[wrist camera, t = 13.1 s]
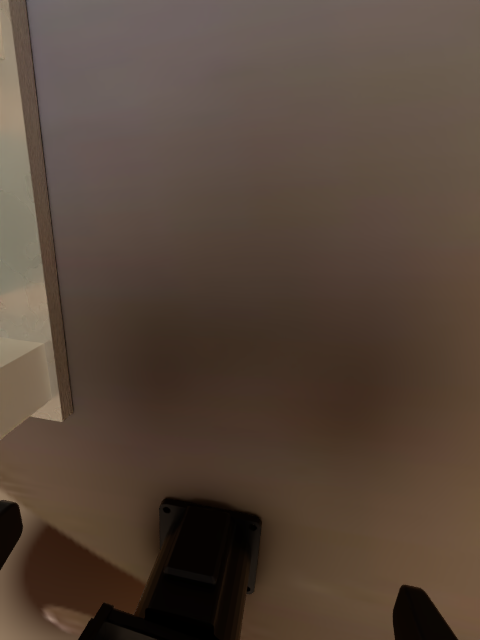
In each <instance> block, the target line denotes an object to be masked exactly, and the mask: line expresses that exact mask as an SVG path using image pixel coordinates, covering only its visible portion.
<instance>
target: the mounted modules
mask: <svg viewBox="0 0 480 640" xmlns="http://www.w3.org/2000/svg"><path fill="white" fill-rule="evenodd" d="M0 60H5V53H4V46H3V38H2V31H1V24H0ZM51 399H52V395H51V388H50V381H49V374H48V366H47V359H46V352H45V344H44V343H38V342H31V341H24V340H16V339H9V338H2V337H0V440H1V439H2V438H3V437H4V436H6V435H7V434H8V433H10V432H11V431H12V430H13V429H15V428H16V427H17V426H18V425H20V424H21V423H22V422H23V421H25V420H26V419H27V418H28V417H30V416H31V415H32V414H33V413H35V412H36V411H37V410H38V409H40V408H41V407H42V406H44V405H45V404H46V403H47V402H49V401H50V400H51Z"/></svg>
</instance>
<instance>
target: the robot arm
mask: <svg viewBox="0 0 480 640" xmlns="http://www.w3.org/2000/svg"><path fill="white" fill-rule="evenodd" d="M159 519H160V552H159V555H158V557H157V560H156V562H155V564H154V567H153V569H152V572H151V574H150V577H149V579H148V582H147V584H146V586H145V589H144V591H143V594H142V596H141V599H140V601H139V604H138V606H137V609H136V611H135V613H134V615H132V614H129V613H126V612H124V611H121V610H118V609H115V608H114V606H113V605H110V604H107V603H103V604H102V606H101V608H100V609H99V611H98V612H97V614H96V616H95V617H94V619H93V618H91V620H90V621H89V622H88V624H87V626H86V628H85V629H84V631H83V632H82V634H81V636H80V637H79V639H78V640H240V633H241V626H242V619H243V612H244V605H245V599H246V594H252V593H253V592H254V588H255V580H256V571H257V562H258V553H259V544H260V535H261V526H262V522H261V520H260V518H258V517H256V516H253V515H248V514H243V513H238V512H232V511H227V510H222V509H217V508H212V507H207V506H202V505H197V504H192V503H186V502H181V501H176V500H171V499H165V500H163V501H162V503H161V505H160V508H159ZM252 524H254V525H252ZM22 529H23V525H22V519H21V514H20V509H19V505H18V504H17V503H15V502H11V501H6V500H1V501H0V570H1V568H2V567H3V565H4V563H5V562H6V560H7V558H8V556H9V555H10V553H11V552H12V550H13V548H14V547H15V545H16V543H17V542H18V540H19V538H20V536H21V533H22ZM393 627H394V635H395V640H458V639H457V637H456V636H455V634H454V633H453V631H452V630H451V628H450V627H449V626H448V624H447V623H446V621H445V620H444V618H443V617H442V615H441V614H440V613H439V611H438V610H437V608H436V607H435V605H434V604H433V602H432V601H431V599H430V598H429V597H428V595H427V594H426V592H425V591H424V590H422V589H421V588H418V587H413V586H409V585H402V586H401V587H400V590H399V593H398V596H397V599H396V602H395V606H394V609H393Z"/></svg>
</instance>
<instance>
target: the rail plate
mask: <svg viewBox="0 0 480 640" xmlns="http://www.w3.org/2000/svg"><path fill="white" fill-rule="evenodd" d="M0 24H1V31H2V38H3V46H4V53H5V60H0V294H1V295H0V337H2V338H9V339H16V340H24V341H31V342H38V343H44V344H45V352H46V359H47V366H48V374H49V381H50V388H51V395H52V399H51V400H50V401H49V402H47V403H46V404H45V405H44V406H42V407H41V408H40V409H38V410H37V411H36V412H35V413H33V414H32V415H31V417H36V418H42V419H48V420H54V421H60V422H63V421H64V420H65V419H66V418H67V417H69V416H70V415H71V414H72V413H73V408H72V399H71V390H70V382H69V373H68V365H67V356H66V347H65V339H64V330H63V321H62V313H61V304H60V295H59V287H58V278H57V269H56V261H55V252H54V243H53V235H52V226H51V217H50V209H49V200H48V191H47V183H46V174H45V165H44V157H43V148H42V140H41V131H40V122H39V114H38V105H37V96H36V88H35V79H34V70H33V62H32V53H31V44H30V36H29V27H28V18H27V10H26V1H25V0H0Z"/></svg>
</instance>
